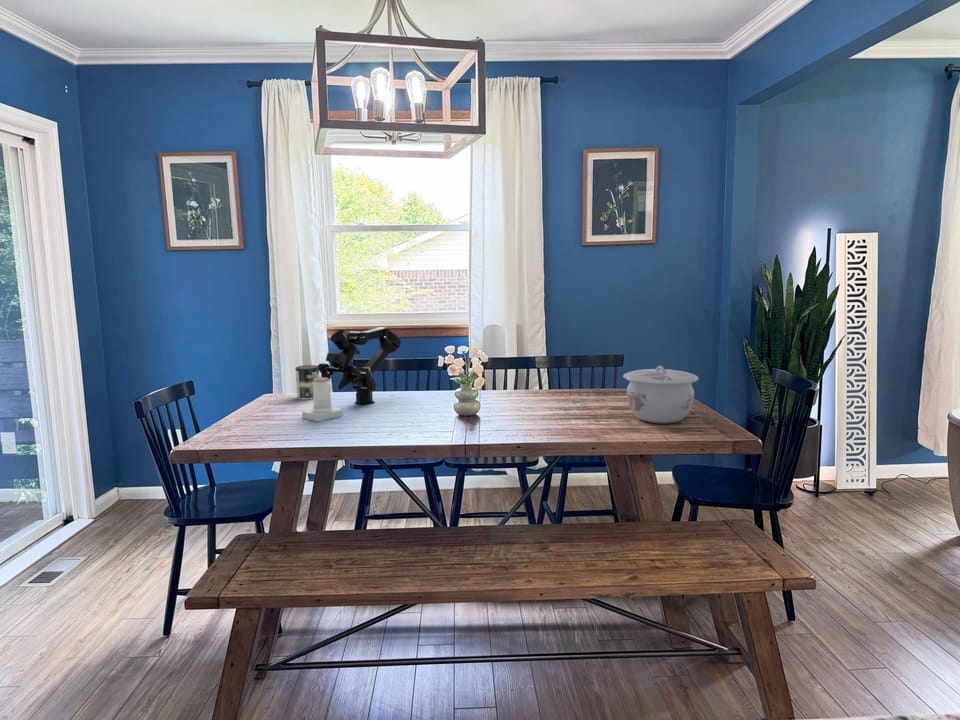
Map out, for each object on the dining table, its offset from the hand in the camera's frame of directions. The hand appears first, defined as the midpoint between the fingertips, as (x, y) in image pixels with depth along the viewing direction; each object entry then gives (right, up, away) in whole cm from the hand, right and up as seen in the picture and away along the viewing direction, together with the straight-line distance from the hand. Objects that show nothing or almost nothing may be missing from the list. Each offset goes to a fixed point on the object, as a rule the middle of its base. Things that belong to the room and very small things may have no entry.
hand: (329, 388), depth 255 cm
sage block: (-2, -11, -3) cm, 12 cm away
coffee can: (-18, -6, +34) cm, 39 cm away
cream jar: (-2, -9, -3) cm, 9 cm away
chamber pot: (+128, -11, -14) cm, 130 cm away
